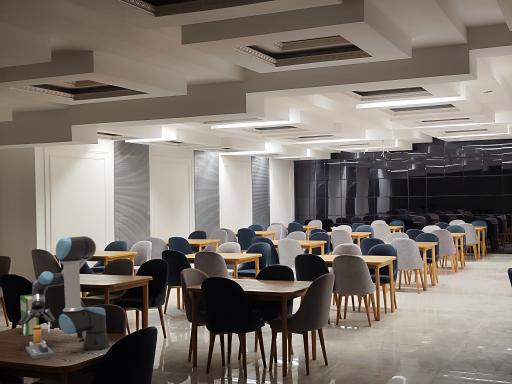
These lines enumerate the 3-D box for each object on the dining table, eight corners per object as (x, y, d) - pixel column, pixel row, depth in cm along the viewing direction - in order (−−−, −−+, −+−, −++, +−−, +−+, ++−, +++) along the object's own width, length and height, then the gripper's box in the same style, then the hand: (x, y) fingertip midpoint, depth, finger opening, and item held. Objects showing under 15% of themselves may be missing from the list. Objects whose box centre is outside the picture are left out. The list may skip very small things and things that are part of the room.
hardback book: (39, 334, 428) (37, 297, 429) (27, 336, 425) (25, 298, 425) (33, 330, 444) (31, 294, 444) (21, 331, 440) (20, 295, 440)
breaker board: (25, 350, 383) (25, 340, 384) (45, 347, 389) (45, 337, 389) (33, 359, 360) (32, 348, 361) (54, 356, 366) (53, 345, 366)
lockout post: (43, 346, 383) (42, 325, 383) (36, 347, 379) (35, 326, 379) (39, 345, 386) (38, 324, 386) (32, 346, 382) (31, 326, 382)
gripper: (60, 305, 402) (59, 335, 388) (17, 309, 397) (14, 339, 382) (59, 298, 397) (58, 327, 383) (15, 301, 392) (13, 331, 377)
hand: (36, 333), depth 382 cm, fingers open, 13 cm apart
